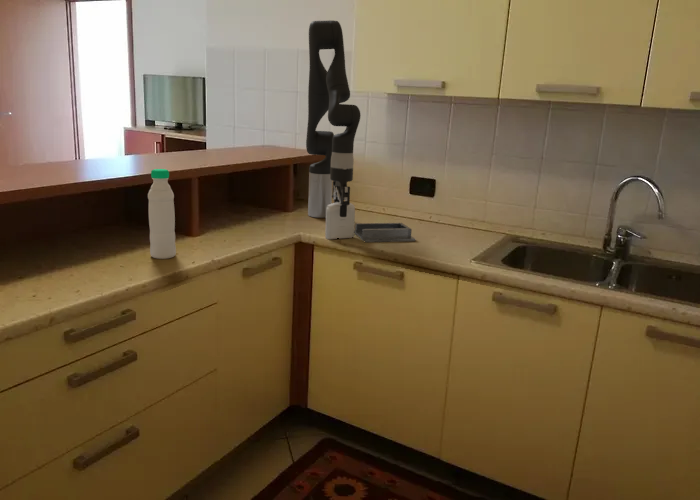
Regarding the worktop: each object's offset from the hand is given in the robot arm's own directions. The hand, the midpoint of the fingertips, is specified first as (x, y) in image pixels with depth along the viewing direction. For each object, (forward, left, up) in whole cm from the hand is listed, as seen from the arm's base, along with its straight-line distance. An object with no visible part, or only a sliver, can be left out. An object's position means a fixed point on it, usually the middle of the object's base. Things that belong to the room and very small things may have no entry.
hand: (339, 214), depth 197 cm
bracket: (0, +16, -8) cm, 18 cm away
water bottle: (+17, -57, -8) cm, 60 cm away
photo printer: (0, 0, -9) cm, 8 cm away
